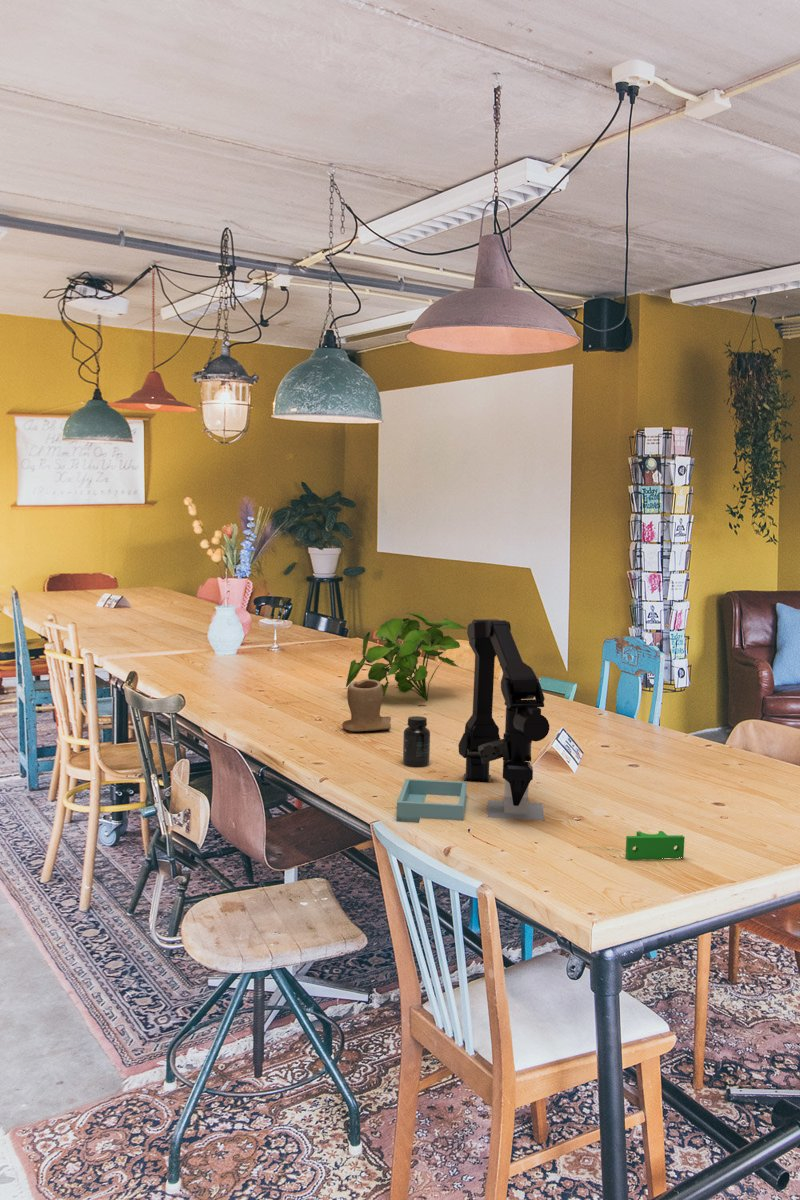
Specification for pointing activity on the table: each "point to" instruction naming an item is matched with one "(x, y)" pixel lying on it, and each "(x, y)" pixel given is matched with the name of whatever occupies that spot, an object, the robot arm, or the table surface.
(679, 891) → the table surface
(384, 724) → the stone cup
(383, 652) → the indoor plant
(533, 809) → the stud base
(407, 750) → the supplement bottle
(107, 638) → the table surface
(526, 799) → the beige rectangular block
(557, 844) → the table surface
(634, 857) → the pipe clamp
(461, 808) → the bin
